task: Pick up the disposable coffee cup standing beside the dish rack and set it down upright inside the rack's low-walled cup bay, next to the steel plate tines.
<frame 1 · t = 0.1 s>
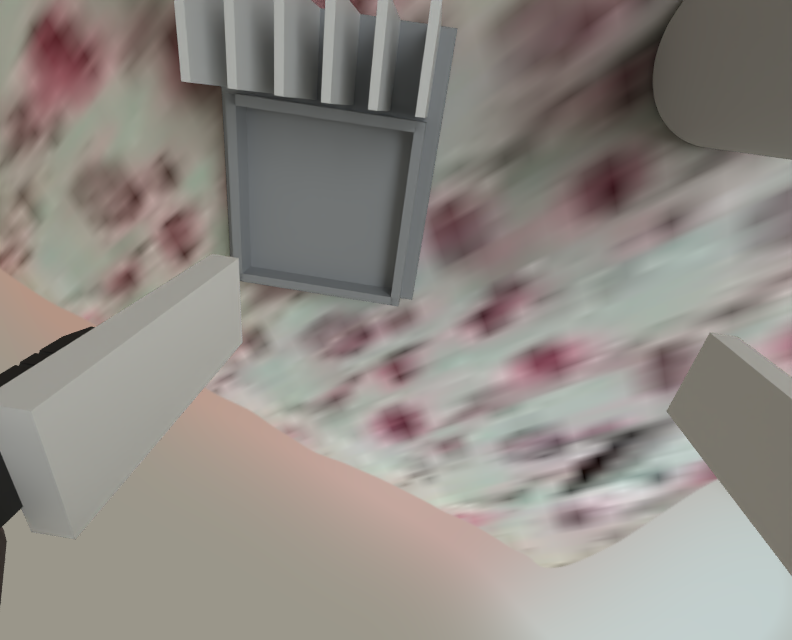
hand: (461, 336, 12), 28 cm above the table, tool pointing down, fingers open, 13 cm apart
cylinder vase: (737, 57, 31), on the table
dish rack: (331, 165, 37), on the table
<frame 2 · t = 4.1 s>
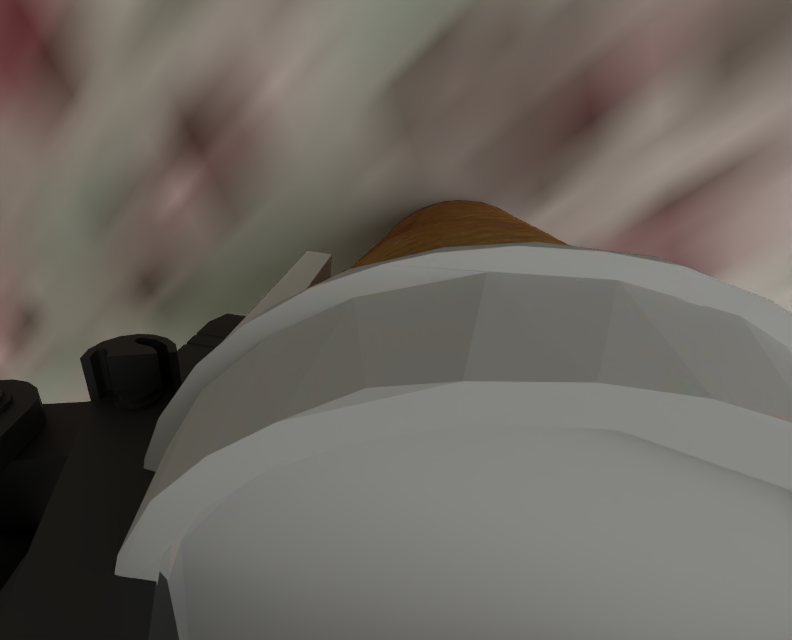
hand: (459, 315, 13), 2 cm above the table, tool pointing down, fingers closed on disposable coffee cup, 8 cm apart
disposable coffee cup: (456, 285, 15), on the table, touching gripper
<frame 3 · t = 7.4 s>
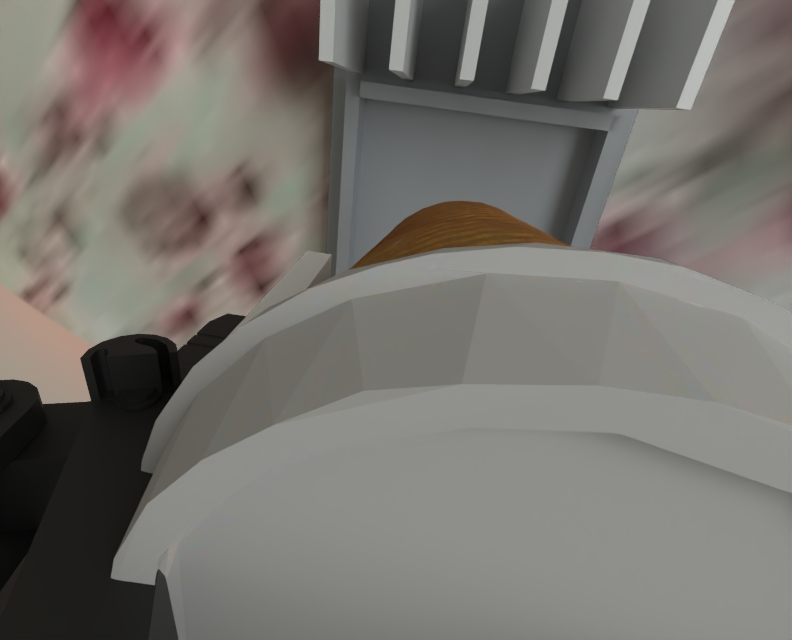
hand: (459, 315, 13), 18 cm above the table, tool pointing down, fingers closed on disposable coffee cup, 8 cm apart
disposable coffee cup: (456, 285, 15), point 15 cm above the table, touching gripper
dish rack: (466, 175, 28), on the table
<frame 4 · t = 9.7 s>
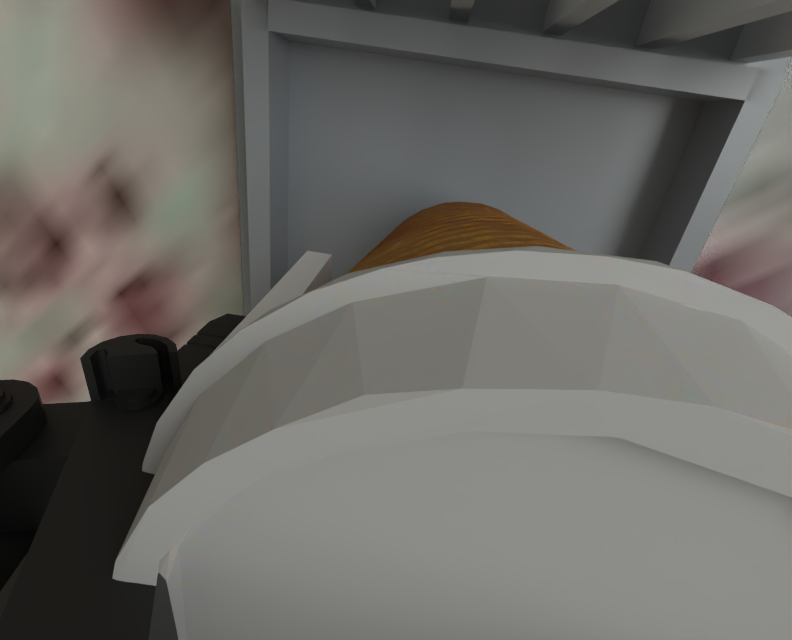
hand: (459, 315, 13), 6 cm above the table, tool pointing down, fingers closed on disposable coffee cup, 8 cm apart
disposable coffee cup: (456, 286, 15), point 3 cm above the table, touching gripper
dish rack: (468, 181, 17), on the table
when the fingers open (5 cm above the table, at t = 10.8 s): disposable coffee cup moves 3 cm, point 2 cm above the table.
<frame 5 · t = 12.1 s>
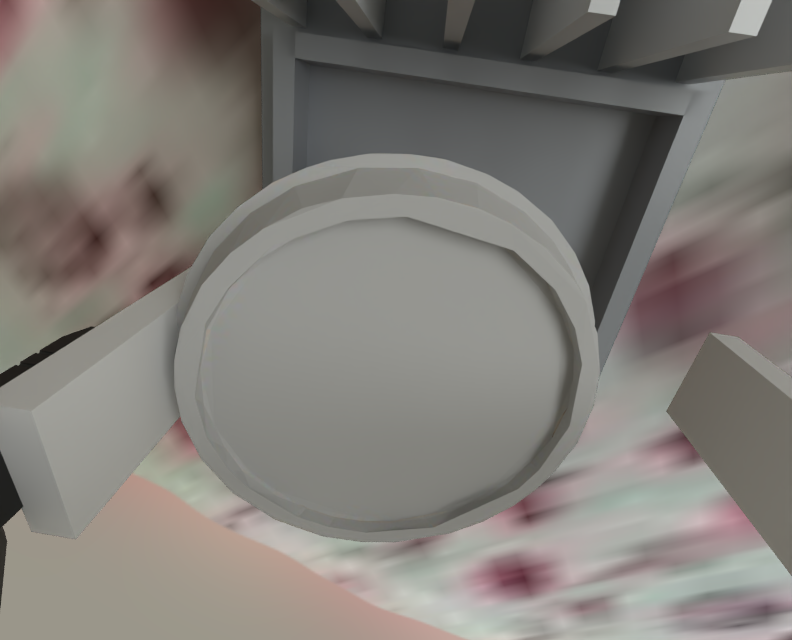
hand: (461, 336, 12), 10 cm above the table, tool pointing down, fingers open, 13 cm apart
disposable coffee cup: (381, 240, 19), point 2 cm above the table, touching gripper
dish rack: (460, 182, 20), on the table
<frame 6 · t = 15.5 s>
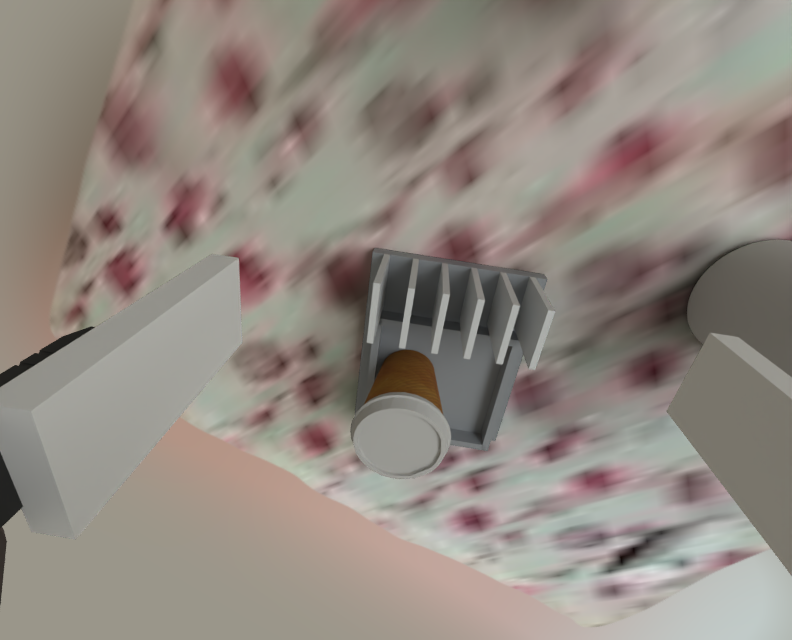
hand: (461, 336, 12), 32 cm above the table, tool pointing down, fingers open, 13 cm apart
cylinder vase: (748, 296, 43), on the table
disposable coffee cup: (408, 371, 49), point 1 cm above the table, touching dish rack
dish rack: (440, 349, 49), on the table
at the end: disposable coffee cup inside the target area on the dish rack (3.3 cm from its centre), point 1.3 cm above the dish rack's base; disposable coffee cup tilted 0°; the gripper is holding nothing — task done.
